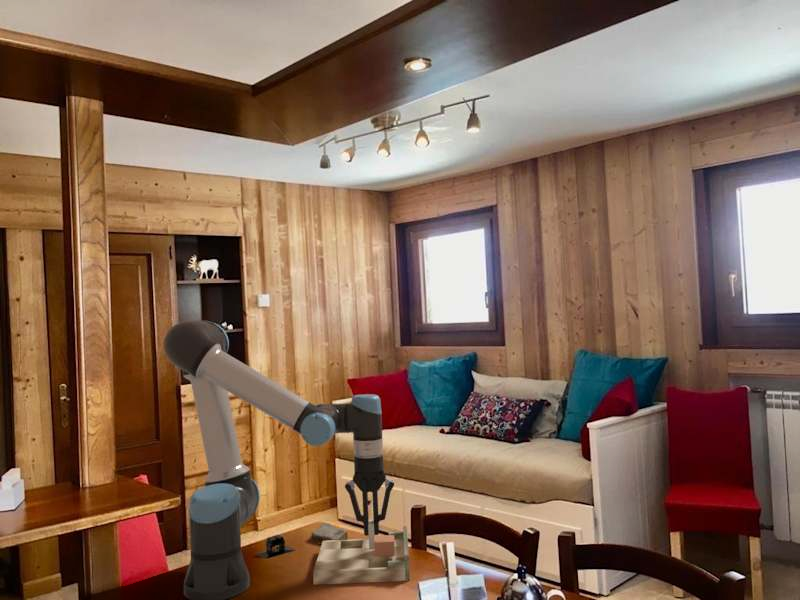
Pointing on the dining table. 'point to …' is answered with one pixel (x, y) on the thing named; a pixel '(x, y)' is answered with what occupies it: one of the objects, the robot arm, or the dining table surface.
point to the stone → (328, 533)
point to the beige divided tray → (361, 562)
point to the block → (384, 545)
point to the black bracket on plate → (276, 551)
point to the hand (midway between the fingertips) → (372, 547)
